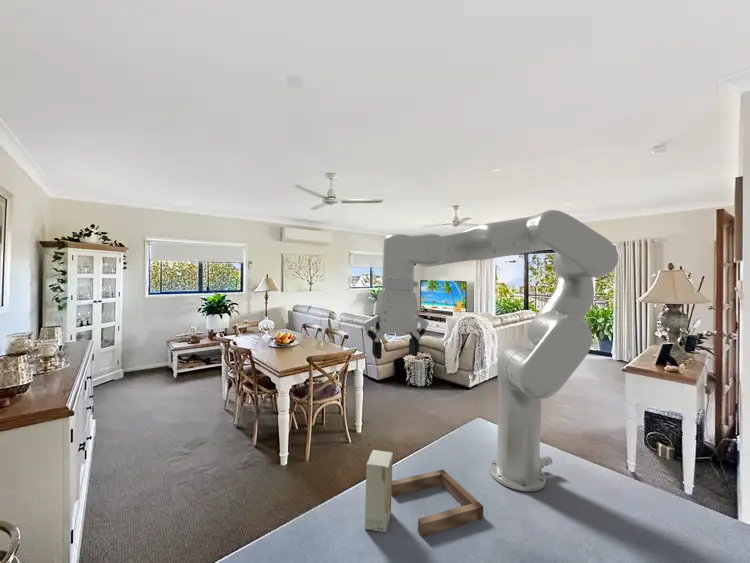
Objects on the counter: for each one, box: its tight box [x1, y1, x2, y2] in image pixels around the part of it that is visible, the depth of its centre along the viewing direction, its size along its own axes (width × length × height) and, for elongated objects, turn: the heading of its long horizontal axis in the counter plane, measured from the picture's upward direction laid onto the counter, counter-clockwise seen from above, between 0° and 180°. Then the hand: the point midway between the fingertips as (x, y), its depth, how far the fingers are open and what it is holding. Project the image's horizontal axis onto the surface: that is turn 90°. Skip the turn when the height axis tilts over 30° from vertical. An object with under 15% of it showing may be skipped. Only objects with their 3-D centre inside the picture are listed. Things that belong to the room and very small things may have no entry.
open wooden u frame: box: [391, 469, 484, 538], centre depth 72 cm, size 14×14×2 cm
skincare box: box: [364, 449, 394, 533], centre depth 67 cm, size 6×4×12 cm
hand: (395, 356), depth 84 cm, fingers open, 9 cm apart
